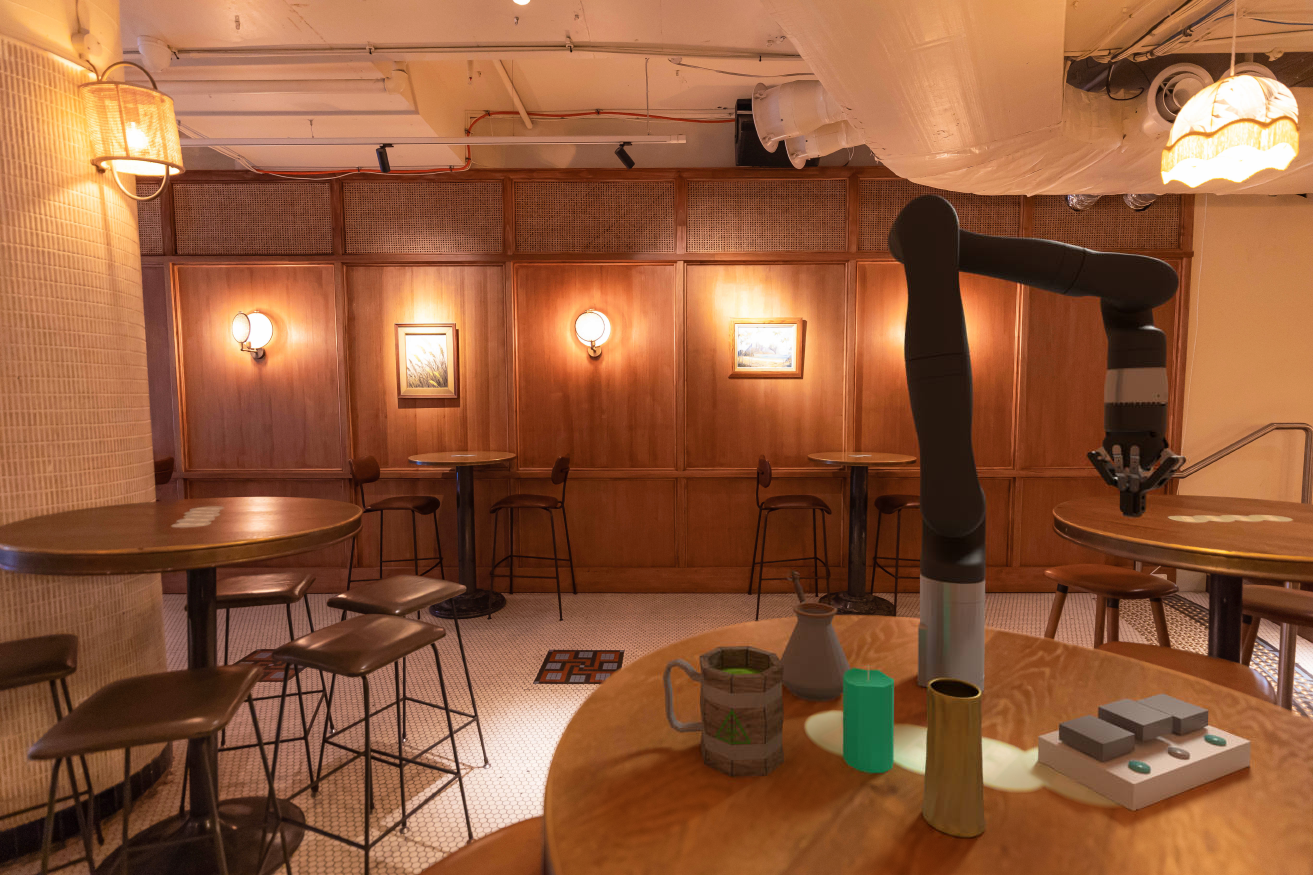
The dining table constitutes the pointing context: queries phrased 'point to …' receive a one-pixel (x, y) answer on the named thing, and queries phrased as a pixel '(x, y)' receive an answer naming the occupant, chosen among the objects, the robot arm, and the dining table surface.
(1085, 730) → the front key
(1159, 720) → the middle key
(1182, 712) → the back key
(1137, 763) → the keypad
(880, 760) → the candle
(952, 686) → the vase
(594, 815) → the dining table surface
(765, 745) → the mug
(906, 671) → the dining table surface
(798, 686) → the coffee pot
